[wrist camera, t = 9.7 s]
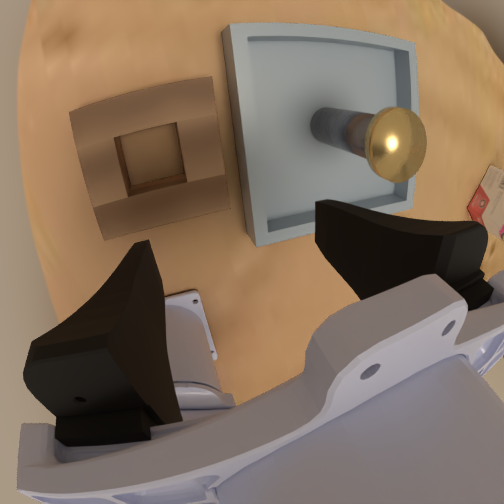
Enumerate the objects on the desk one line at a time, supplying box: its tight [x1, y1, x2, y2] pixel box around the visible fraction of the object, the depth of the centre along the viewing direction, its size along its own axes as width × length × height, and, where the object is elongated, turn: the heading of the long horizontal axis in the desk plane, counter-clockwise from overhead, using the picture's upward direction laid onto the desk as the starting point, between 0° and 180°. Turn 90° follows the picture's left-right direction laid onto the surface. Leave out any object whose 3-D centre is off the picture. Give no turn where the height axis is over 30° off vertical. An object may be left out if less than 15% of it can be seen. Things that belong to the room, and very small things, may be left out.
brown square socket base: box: [69, 76, 231, 241], centre depth 18 cm, size 9×9×2 cm
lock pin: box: [310, 106, 427, 183], centre depth 17 cm, size 4×4×8 cm
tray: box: [221, 23, 419, 247], centre depth 21 cm, size 16×16×2 cm
